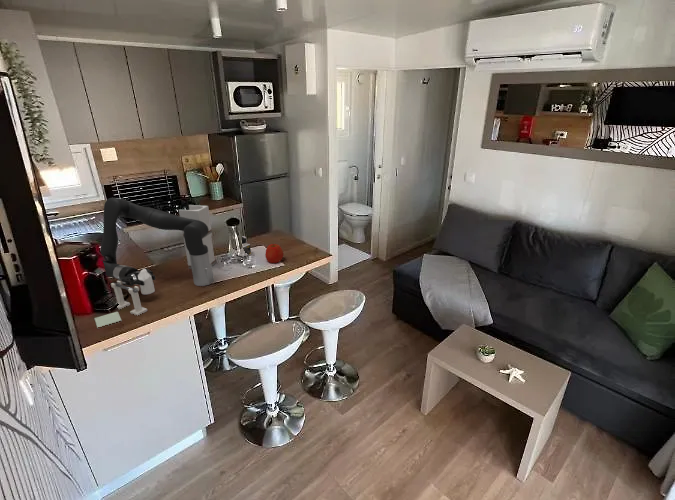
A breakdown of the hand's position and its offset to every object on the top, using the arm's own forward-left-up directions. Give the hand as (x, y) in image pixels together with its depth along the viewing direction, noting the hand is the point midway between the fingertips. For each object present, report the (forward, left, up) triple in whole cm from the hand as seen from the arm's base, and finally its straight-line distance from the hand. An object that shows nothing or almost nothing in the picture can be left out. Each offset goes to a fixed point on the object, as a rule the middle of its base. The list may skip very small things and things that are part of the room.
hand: (149, 280), depth 168 cm
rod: (+6, +9, 0) cm, 10 cm away
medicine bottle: (-23, -59, -11) cm, 64 cm away
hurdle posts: (+6, +9, -11) cm, 15 cm away
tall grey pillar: (-5, -41, -11) cm, 43 cm away
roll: (+2, -1, -7) cm, 7 cm away
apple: (-45, -53, -11) cm, 71 cm away
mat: (+10, +18, -11) cm, 23 cm away
